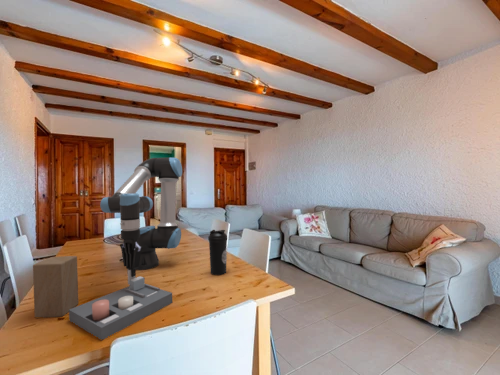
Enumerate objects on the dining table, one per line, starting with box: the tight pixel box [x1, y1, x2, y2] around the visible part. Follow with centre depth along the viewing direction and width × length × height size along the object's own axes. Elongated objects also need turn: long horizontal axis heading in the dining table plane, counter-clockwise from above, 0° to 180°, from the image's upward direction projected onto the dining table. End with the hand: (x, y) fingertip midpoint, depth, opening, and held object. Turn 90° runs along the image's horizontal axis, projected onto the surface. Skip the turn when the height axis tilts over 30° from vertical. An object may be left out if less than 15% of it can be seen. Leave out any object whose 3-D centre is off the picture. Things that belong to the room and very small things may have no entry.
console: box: [68, 283, 173, 341], centre depth 95 cm, size 22×28×5 cm
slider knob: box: [128, 275, 146, 291], centre depth 106 cm, size 3×5×4 cm, turn 148°
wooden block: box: [32, 255, 79, 318], centre depth 96 cm, size 10×10×20 cm
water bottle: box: [208, 229, 228, 276], centre depth 134 cm, size 10×10×23 cm
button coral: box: [92, 299, 109, 321], centre depth 85 cm, size 5×5×5 cm
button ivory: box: [118, 296, 133, 310], centre depth 93 cm, size 5×5×5 cm
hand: (131, 283), depth 107 cm, fingers closed
